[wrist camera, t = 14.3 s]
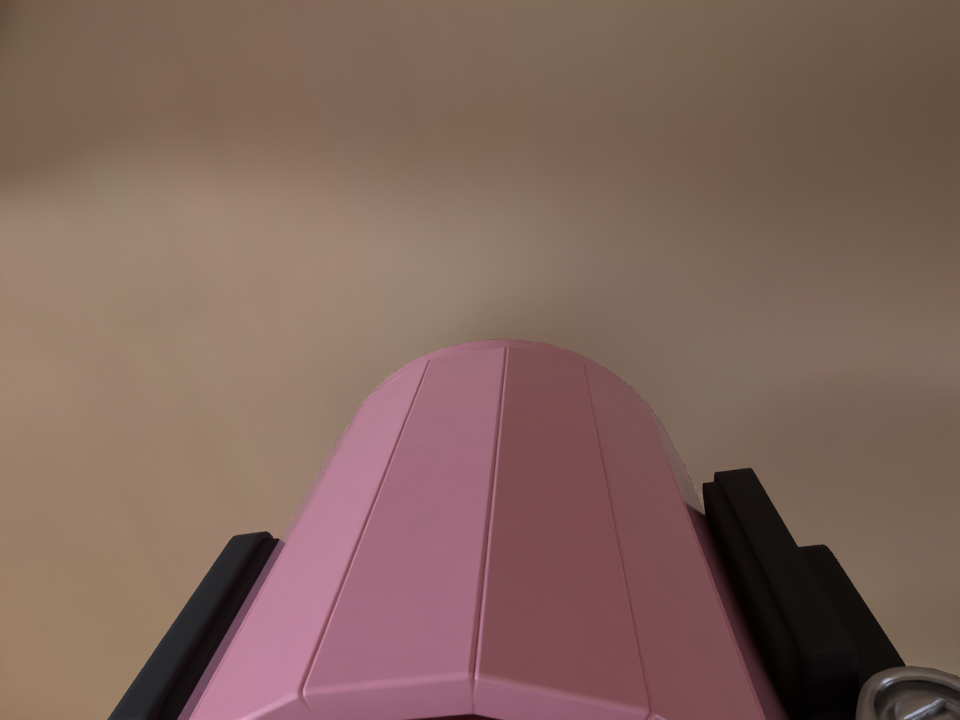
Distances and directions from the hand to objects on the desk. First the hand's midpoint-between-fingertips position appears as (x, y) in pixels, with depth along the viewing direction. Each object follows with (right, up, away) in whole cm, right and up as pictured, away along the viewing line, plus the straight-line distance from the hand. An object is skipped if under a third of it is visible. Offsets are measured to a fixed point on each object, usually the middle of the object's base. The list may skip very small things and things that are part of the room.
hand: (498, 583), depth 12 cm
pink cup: (0, +1, +2) cm, 2 cm away
